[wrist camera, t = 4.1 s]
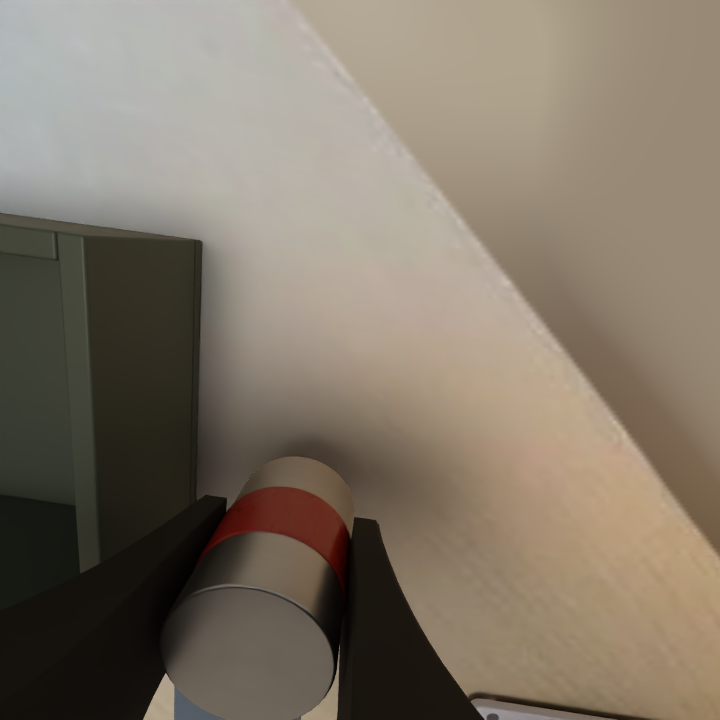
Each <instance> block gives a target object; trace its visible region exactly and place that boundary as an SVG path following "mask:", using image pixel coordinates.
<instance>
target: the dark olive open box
mask: <svg viewBox="0 0 720 720" xmlns="http://www.w3.org/2000/svg"><path fill="white" fill-rule="evenodd" d="M200 282H201V241H200V240H195V239H187V238H180V237H173V236H165V235H158V234H150V233H143V232H136V231H128V230H121V229H114V228H106V227H99V226H92V225H84V224H77V223H70V222H62V221H55V220H47V219H40V218H33V217H25V216H18V215H11V214H3V213H0V610H2V609H5V608H7V607H10V606H12V605H14V604H17V603H19V602H21V601H23V600H26V599H28V598H30V597H32V596H34V595H37V594H39V593H41V592H43V591H46V590H48V589H50V588H52V587H55V586H57V585H59V584H61V583H63V582H65V581H67V580H69V579H71V578H73V577H75V576H77V575H79V574H81V573H83V572H85V571H87V570H89V569H90V568H92V567H94V566H96V565H98V564H100V563H101V562H103V561H105V560H107V559H108V558H110V557H112V556H113V555H115V554H117V553H118V552H120V551H122V550H123V549H125V548H127V547H128V546H130V545H132V544H133V543H135V542H136V541H138V540H140V539H141V538H143V537H145V536H146V535H148V534H149V533H151V532H152V531H154V530H155V529H157V528H158V527H160V526H161V525H163V524H164V523H166V522H167V521H169V520H170V519H172V518H173V517H174V516H176V515H177V514H179V513H180V512H182V511H183V510H185V509H186V508H187V507H189V506H190V505H192V504H193V503H195V494H196V452H197V409H198V367H199V324H200Z"/></svg>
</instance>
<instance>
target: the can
mask: <svg viewBox="0 0 720 720" xmlns="http://www.w3.org/2000/svg"><path fill="white" fill-rule="evenodd" d="M353 522H354V502H353V497H352V495H351V492H350V490H349V488H348V486H347V484H346V483H345V482H344V480H343V479H342V478H341V477H340V476H339V475H338V474H337V473H336V472H335V471H334V470H333V469H331V468H330V467H328V466H327V465H325V464H323V463H321V462H319V461H316V460H313V459H310V458H305V457H296V456H294V457H283V458H278V459H275V460H272V461H270V462H267V463H266V464H264V465H262V466H261V467H259V468H258V469H257V470H256V471H255V472H254V473H253V474H252V475H251V476H250V477H249V479H248V480H247V482H246V484H245V485H244V487H243V489H242V490H241V492H240V494H239V495H238V497H237V499H236V500H235V502H234V504H233V505H232V506H231V507H230V508H229V509H228V511H227V512H226V514H225V515H224V517H223V519H222V520H221V522H220V524H219V525H218V527H217V529H216V530H215V532H214V534H213V535H212V537H211V539H210V540H209V542H208V544H207V545H206V547H205V548H204V550H203V552H202V553H201V555H200V557H199V558H198V560H197V562H196V565H195V567H194V570H193V573H192V574H191V576H190V578H189V579H188V581H187V583H186V584H185V586H184V588H183V589H182V591H181V593H180V595H179V596H178V598H177V600H176V601H175V603H174V605H173V606H172V608H171V610H170V611H169V613H168V615H167V616H166V618H165V621H164V623H163V625H162V629H161V633H160V641H159V649H160V656H161V661H162V664H163V666H164V669H165V671H166V673H167V675H168V677H169V678H170V680H171V681H172V683H173V684H174V685H175V687H176V688H177V689H178V690H179V691H180V692H181V693H182V694H183V695H184V696H185V697H186V698H187V699H188V700H190V701H191V702H192V703H194V704H195V705H197V706H198V707H200V708H201V709H203V710H205V711H207V712H209V713H210V714H213V715H215V716H218V717H220V718H223V719H226V720H292V719H295V718H298V717H300V716H302V715H304V714H306V713H307V712H309V711H311V710H312V709H313V708H314V707H316V706H317V705H318V704H319V703H320V702H321V701H322V700H323V699H324V698H325V696H326V695H327V693H328V692H329V690H330V688H331V686H332V684H333V682H334V679H335V675H336V671H337V662H338V654H339V645H340V636H341V627H342V619H343V616H344V613H345V609H346V602H347V591H348V573H349V555H350V547H351V537H352V530H353Z"/></svg>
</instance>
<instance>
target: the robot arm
mask: <svg viewBox="0 0 720 720" xmlns="http://www.w3.org/2000/svg"><path fill="white" fill-rule="evenodd" d="M226 506H227V498H224V497H217V496H210V495H205V496H204V497H202V498H201V499H199V500H198V501H196V502H195V503H193V504H192V505H190V506H189V507H187V508H186V509H185V510H183V511H182V512H180V513H179V514H177V515H176V516H174V517H173V518H172V519H170V520H169V521H167V522H166V523H164V524H163V525H161V526H160V527H158V528H157V529H155V530H154V531H152V532H151V533H149V534H148V535H146V536H145V537H143V538H141V539H140V540H138V541H136V542H135V543H133V544H132V545H130V546H128V547H127V548H125V549H123V550H122V551H120V552H118V553H117V554H115V555H113V556H112V557H110V558H108V559H107V560H105V561H103V562H101V563H100V564H98V565H96V566H94V567H92V568H90V569H89V570H87V571H85V572H83V573H81V574H79V575H77V576H75V577H73V578H71V579H69V580H67V581H65V582H63V583H61V584H59V585H57V586H55V587H52V588H50V589H48V590H46V591H43V592H41V593H39V594H37V595H34V596H32V597H30V598H28V599H26V600H23V601H21V602H19V603H17V604H14V605H12V606H10V607H7V608H5V609H2V610H0V720H143V718H144V716H145V714H146V711H147V709H148V707H149V705H150V703H151V700H152V698H153V696H154V694H155V692H156V690H157V688H158V686H159V684H160V682H161V680H162V679H163V677H164V675H165V673H166V671H165V669H164V666H163V664H162V661H161V656H160V649H159V641H160V633H161V629H162V625H163V623H164V621H165V618H166V616H167V615H168V613H169V611H170V610H171V608H172V606H173V605H174V603H175V601H176V600H177V598H178V596H179V595H180V593H181V591H182V589H183V588H184V586H185V584H186V583H187V581H188V579H189V578H190V576H191V574H192V573H193V570H194V567H195V565H196V562H197V560H198V558H199V557H200V555H201V553H202V552H203V550H204V548H205V547H206V545H207V544H208V542H209V540H210V539H211V537H212V535H213V534H214V532H215V530H216V529H217V527H218V525H219V524H220V522H221V520H222V519H223V517H224V515H225V514H226ZM337 720H616V719H610V718H604V717H597V716H591V715H584V714H578V713H571V712H565V711H558V710H552V709H546V708H539V707H533V706H526V705H520V704H513V703H507V702H501V701H494V700H488V699H481V698H477V699H473V700H472V701H471V702H470V700H469V699H468V697H467V696H466V695H465V693H464V692H463V691H462V689H461V688H460V686H459V685H458V684H457V682H456V681H455V679H454V678H453V677H452V675H451V674H450V673H449V671H448V670H447V668H446V667H445V666H444V664H443V663H442V661H441V660H440V658H439V656H438V655H437V653H436V652H435V650H434V649H433V647H432V645H431V644H430V642H429V641H428V639H427V637H426V635H425V634H424V632H423V630H422V629H421V627H420V625H419V623H418V621H417V620H416V618H415V616H414V614H413V612H412V610H411V608H410V606H409V604H408V602H407V600H406V598H405V596H404V594H403V592H402V590H401V587H400V585H399V583H398V581H397V578H396V576H395V573H394V571H393V568H392V566H391V563H390V561H389V558H388V555H387V552H386V549H385V546H384V543H383V540H382V536H381V532H380V528H379V524H378V523H377V521H376V520H371V519H364V518H357V517H354V523H353V530H352V537H351V547H350V555H349V573H348V591H347V602H346V609H345V613H344V616H343V619H342V627H341V636H340V659H339V690H338V713H337Z"/></svg>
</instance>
